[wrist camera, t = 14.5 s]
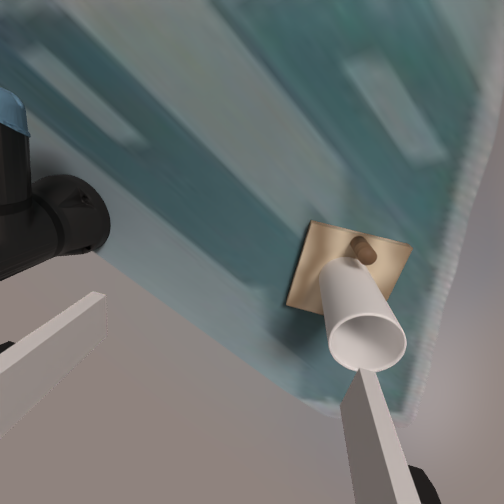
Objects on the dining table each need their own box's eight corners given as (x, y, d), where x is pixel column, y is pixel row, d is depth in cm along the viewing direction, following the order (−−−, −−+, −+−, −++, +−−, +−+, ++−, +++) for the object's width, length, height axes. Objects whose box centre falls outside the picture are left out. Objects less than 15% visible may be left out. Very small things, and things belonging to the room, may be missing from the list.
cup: (359, 304, 44) (389, 380, 30) (313, 293, 45) (319, 362, 30) (377, 263, 41) (420, 324, 27) (326, 251, 42) (341, 305, 27)
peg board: (286, 299, 49) (284, 325, 41) (310, 220, 42) (313, 234, 35) (370, 321, 47) (383, 353, 40) (407, 243, 41) (431, 263, 34)
